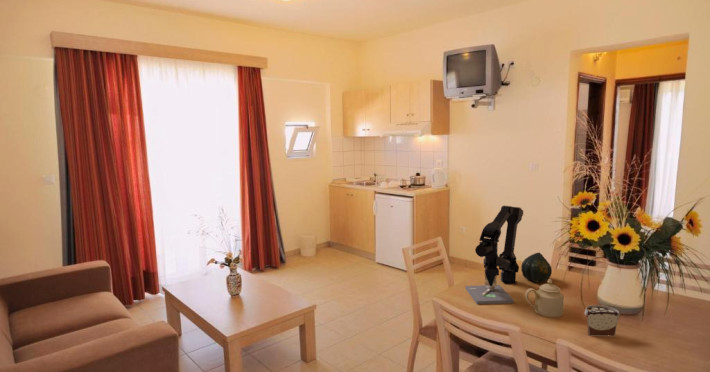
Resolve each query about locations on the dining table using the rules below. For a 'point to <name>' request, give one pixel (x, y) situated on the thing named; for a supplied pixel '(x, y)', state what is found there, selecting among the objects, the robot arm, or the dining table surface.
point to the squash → (536, 268)
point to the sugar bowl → (547, 300)
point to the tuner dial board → (489, 295)
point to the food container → (601, 320)
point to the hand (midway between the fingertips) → (490, 283)
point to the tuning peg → (488, 287)
